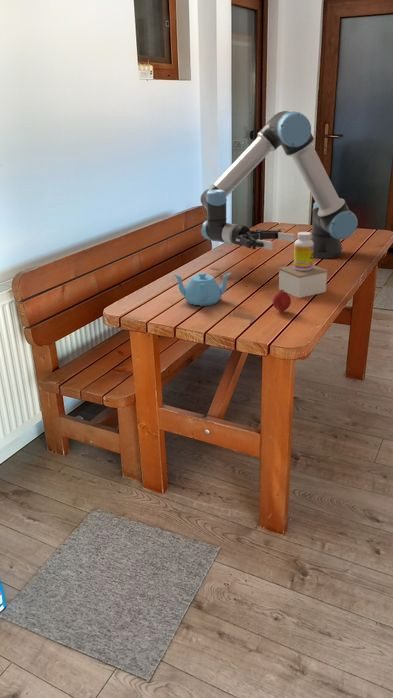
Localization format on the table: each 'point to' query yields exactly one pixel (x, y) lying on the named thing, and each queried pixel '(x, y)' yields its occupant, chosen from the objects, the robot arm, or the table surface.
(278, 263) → the table surface
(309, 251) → the supplement bottle
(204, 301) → the teapot
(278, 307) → the onion
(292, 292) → the riser block
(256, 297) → the table surface
